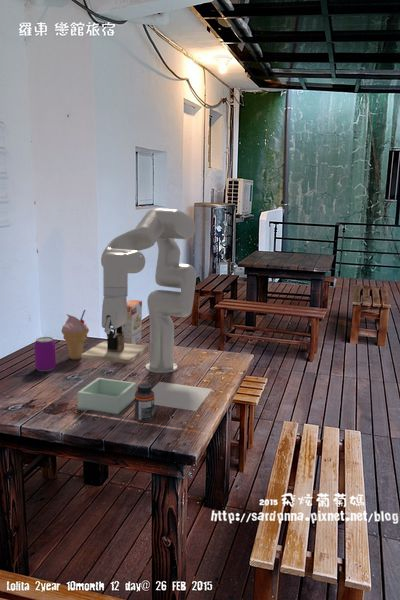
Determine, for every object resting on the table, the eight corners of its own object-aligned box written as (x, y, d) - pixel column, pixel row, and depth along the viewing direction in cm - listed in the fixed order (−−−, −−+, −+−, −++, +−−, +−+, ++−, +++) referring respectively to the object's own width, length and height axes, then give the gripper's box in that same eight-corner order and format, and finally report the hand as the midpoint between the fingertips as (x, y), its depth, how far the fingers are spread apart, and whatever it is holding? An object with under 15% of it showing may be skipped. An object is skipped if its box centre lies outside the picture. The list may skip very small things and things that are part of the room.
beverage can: (52, 372, 201) (51, 342, 198) (32, 371, 201) (31, 341, 198) (58, 365, 208) (57, 336, 206) (39, 365, 208) (38, 336, 206)
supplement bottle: (135, 415, 165) (135, 381, 162) (154, 415, 165) (154, 381, 163) (134, 424, 159) (134, 388, 156) (154, 423, 159) (154, 388, 157)
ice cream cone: (75, 352, 226) (74, 306, 221) (94, 356, 220) (94, 310, 216) (56, 358, 216) (55, 311, 212) (76, 363, 211) (75, 315, 207)
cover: (104, 344, 179) (103, 326, 178) (148, 349, 175) (148, 331, 174) (81, 357, 164) (81, 338, 163) (129, 363, 160) (129, 344, 159)
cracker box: (132, 354, 225) (132, 306, 221) (119, 352, 227) (118, 305, 222) (142, 345, 239) (142, 300, 235) (129, 343, 240) (129, 299, 236)
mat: (159, 383, 192) (159, 381, 192) (212, 390, 187) (212, 389, 187) (138, 403, 174) (138, 402, 173) (195, 412, 168) (195, 410, 168)
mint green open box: (98, 394, 181) (98, 377, 180) (136, 399, 177) (136, 382, 176) (78, 409, 168) (77, 392, 166) (118, 416, 164) (118, 398, 163)
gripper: (115, 286, 174) (115, 339, 178) (92, 295, 158) (93, 353, 162) (136, 288, 172) (136, 342, 176) (115, 297, 157) (115, 356, 160)
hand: (115, 346), depth 169 cm, fingers closed on cover, 4 cm apart
